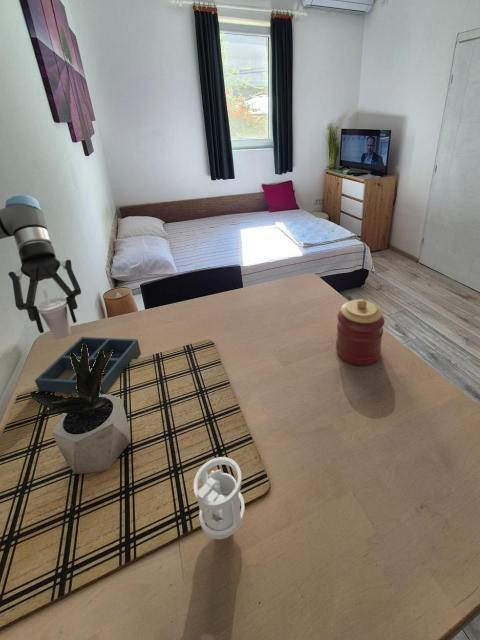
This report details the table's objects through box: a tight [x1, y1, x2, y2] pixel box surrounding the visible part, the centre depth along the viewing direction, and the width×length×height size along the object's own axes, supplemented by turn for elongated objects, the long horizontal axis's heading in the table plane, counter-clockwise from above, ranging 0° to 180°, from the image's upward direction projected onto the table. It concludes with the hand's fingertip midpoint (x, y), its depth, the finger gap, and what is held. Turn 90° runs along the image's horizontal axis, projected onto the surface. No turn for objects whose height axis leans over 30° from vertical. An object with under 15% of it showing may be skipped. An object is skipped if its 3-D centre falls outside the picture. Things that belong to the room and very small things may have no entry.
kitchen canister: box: [335, 298, 385, 367], centre depth 93 cm, size 13×13×18 cm
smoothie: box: [36, 288, 71, 340], centre depth 84 cm, size 6×6×14 cm
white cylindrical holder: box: [193, 456, 246, 540], centre depth 51 cm, size 7×7×15 cm
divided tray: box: [34, 336, 142, 395], centre depth 88 cm, size 17×17×5 cm
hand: (58, 326), depth 82 cm, fingers closed on smoothie, 6 cm apart
